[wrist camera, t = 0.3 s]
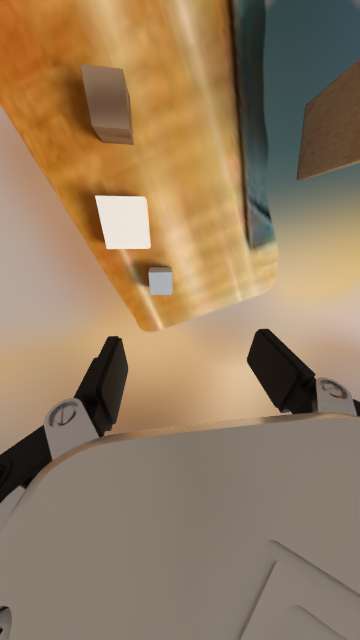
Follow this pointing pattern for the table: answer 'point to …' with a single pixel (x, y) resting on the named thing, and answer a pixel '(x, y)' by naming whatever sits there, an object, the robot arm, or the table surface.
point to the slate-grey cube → (160, 280)
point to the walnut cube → (108, 103)
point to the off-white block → (124, 221)
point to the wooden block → (332, 127)
